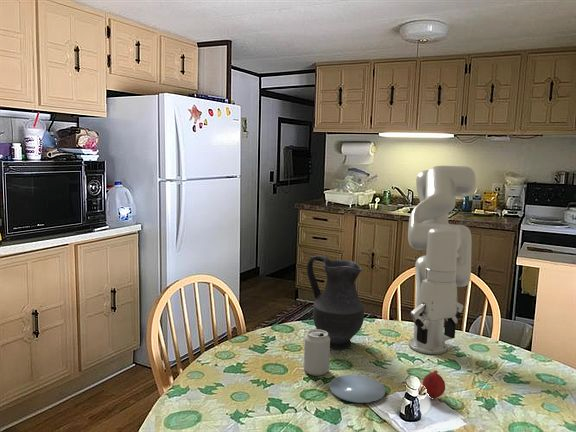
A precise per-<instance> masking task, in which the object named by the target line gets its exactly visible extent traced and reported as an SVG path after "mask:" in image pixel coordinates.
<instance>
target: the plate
mask: <svg viewBox="0 0 576 432" xmlns="http://www.w3.org/2000/svg"><path fill="white" fill-rule="evenodd" d="M385 388H386V387H385V386H384V385H383V383H381V382H380V381H379V380H377V379H375V378H372V377H370V376H366V375H362V374H361V375H360V374H344V375H343V374H342V375H340V376H336V377H334V378H333V379H332V380H331V381H330V382H329V390H330V392H331V393H332V394H333V396H335V397H337V398H339V399H341V400H342V401H347V402H351V403H356V404H368V403H369V404H370V403H372V402H371V401H375V400H377V401H380V400H381V399H382V398H384V397H385V394H386V389H385ZM379 399H380V400H379ZM375 402H376V401H375Z"/></svg>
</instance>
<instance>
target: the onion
mask: <svg viewBox="0 0 576 432" xmlns="http://www.w3.org/2000/svg"><path fill="white" fill-rule="evenodd" d="M438 373H439V372H438V370H437V369H434V370H433V371H432V372H429V373H428V374H427V375H425V376H424V378H423V380H422V384H421V385H424V386H425V387H426V389H427V393H428V394H429V396H430V397H431V398H430V397H429V396H428V397H429V398H430V399H432V398H433V399H432V400H435V399H437V398H439V397H442V396H443V394H444V393H445V391H446V383H445V380H444V379H443V377H442V376H441V375H440V374H438Z"/></svg>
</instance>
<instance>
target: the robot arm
mask: <svg viewBox="0 0 576 432" xmlns="http://www.w3.org/2000/svg"><path fill="white" fill-rule="evenodd" d="M476 178H477V177H476V174H475V170H474V169H473V168H472V167H469V166H464V165H436V166H433V167H431V168H429V169H427V170H423V171H420V172H419V173H418V174H417V176H416V182H415V183H416V184H415V185H416V192H417V193H416V194H417V196H418V197H417V198H418V199H419V203H418V204H417V205H416V206H415V207H414V208H413V209H412V210H411V212H410V215H409V219H408V229H407V240H408V244H409V246H410V247H411V248H412V249H414V250H419V251H426V253H425V254H426V255H422V256H420V257H418V258H417V259H416V261H415V264H414V269H415V270H414V271H415V272H414V273H415V283H416V287H415V289H416V292H415V308H414V309H413V310H412V311H410V316H411V318H412V319H411V320H412V323H414V326H413V337H412V338H410V339H409V340H408V347H409V348H410V349H412V350H413V351H415V352H418V353H422V354H427V355H439V354H440V355H441V354H444V353H446V352H447V350H448V345H447V344H446V341H449V340H452V339H455V338H456V327H457V326H456V325H457V324H458V322H459V319H460V317H461V315H462V312H463V309H464V305H463V304H462V303H460V302H458V287H466V286H468V285H469V283H470V281H471V275H472V273H471V272H472V243H473V242H472V240H473V238H472V232H471V230H470V229H469V227H467V226H466V225H462V224H452V223H449V213H450V212H452V211H453V210H454V209H455V207H456V202H457V201H456V197H460V198H461V197H462V198H463V197H464V198H466V197H468V196H470V195H472V194H473V193H474V191H475V188H476V182H477V179H476Z"/></svg>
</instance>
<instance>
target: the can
mask: <svg viewBox="0 0 576 432" xmlns="http://www.w3.org/2000/svg"><path fill="white" fill-rule="evenodd" d="M303 348H304V349H303V352H304V353H303V354H304V355H303V370H304V371H305V372H306V373H307V374H309V375H311V376H314V377H315V376H316V377H320V376H324V375H326V374H327V373H329V370H330V352H331V351H330V350H331V349H330V337H329V336H328V333H327V332H326V331H324V330H319V329H316V328H315V329H309V330H308V331H306V335H305V336H304V347H303Z"/></svg>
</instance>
